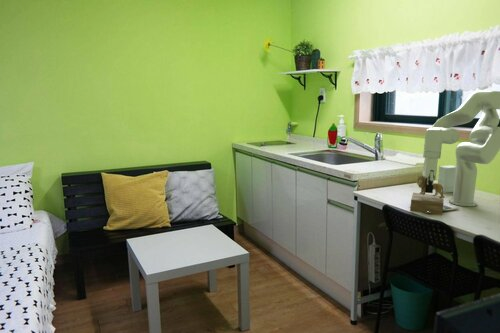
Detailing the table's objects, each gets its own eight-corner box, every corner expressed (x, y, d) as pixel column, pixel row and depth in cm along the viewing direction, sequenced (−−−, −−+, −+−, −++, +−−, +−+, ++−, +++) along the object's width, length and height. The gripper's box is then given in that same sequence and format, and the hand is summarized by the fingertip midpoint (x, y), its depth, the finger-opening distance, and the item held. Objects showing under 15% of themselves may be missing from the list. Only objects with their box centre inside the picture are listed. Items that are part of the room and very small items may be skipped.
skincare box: (448, 189, 226) (451, 164, 223) (456, 192, 220) (459, 166, 217) (436, 190, 224) (438, 165, 221) (443, 193, 219) (446, 167, 216)
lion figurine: (415, 193, 186) (419, 175, 185) (411, 191, 192) (416, 174, 191) (446, 199, 185) (451, 181, 184) (442, 197, 190) (446, 180, 189)
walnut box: (412, 203, 200) (413, 192, 198) (442, 207, 194) (443, 196, 192) (410, 211, 187) (411, 199, 186) (442, 215, 181) (443, 203, 180)
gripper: (421, 151, 194) (417, 186, 197) (425, 156, 178) (421, 195, 182) (437, 152, 192) (433, 188, 195) (443, 158, 176) (439, 196, 179)
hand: (428, 191), depth 188 cm, fingers open, 4 cm apart
